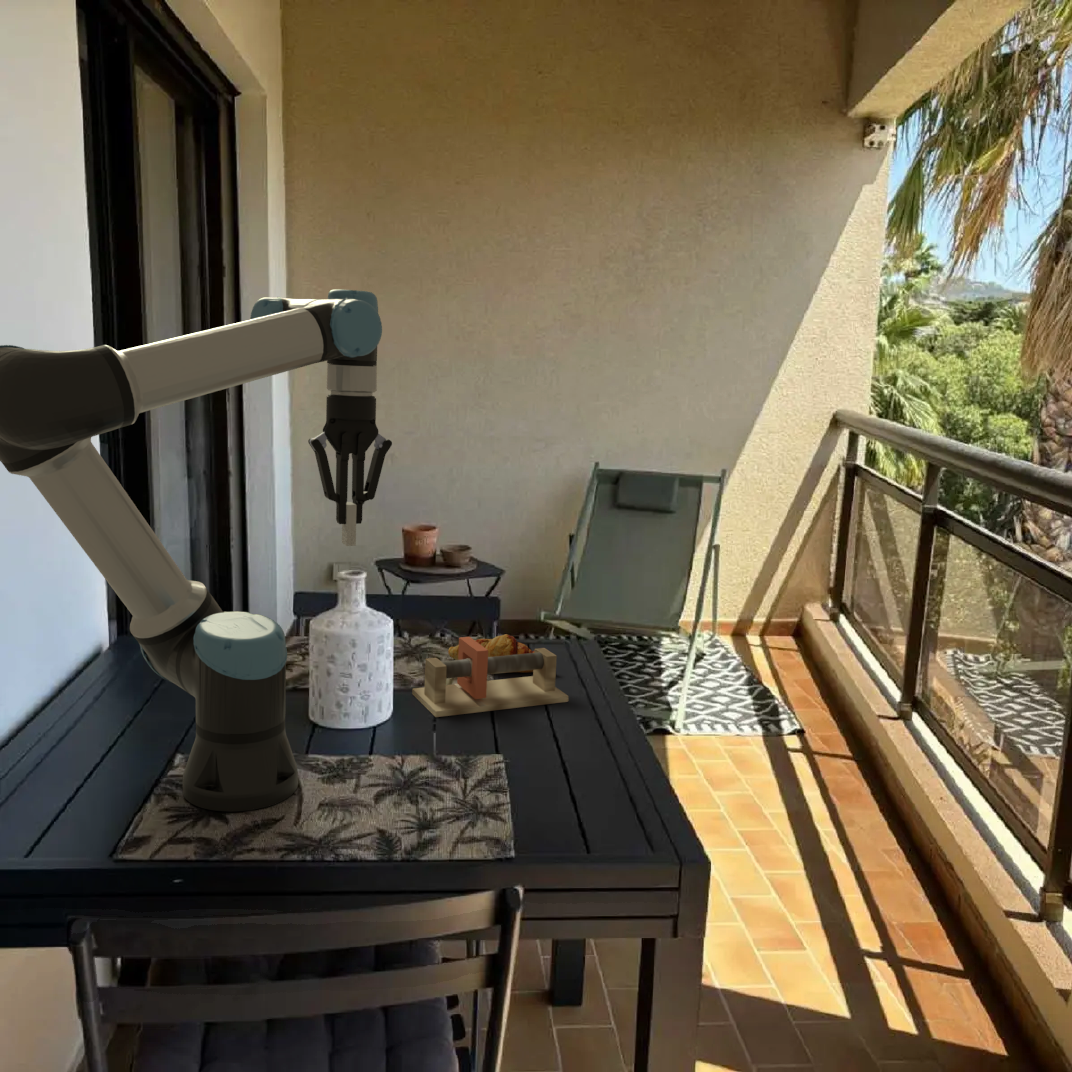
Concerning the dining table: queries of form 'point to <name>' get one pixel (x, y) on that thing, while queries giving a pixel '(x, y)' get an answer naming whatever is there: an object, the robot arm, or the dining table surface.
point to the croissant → (498, 648)
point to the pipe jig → (491, 684)
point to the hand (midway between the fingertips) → (348, 544)
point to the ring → (474, 667)
